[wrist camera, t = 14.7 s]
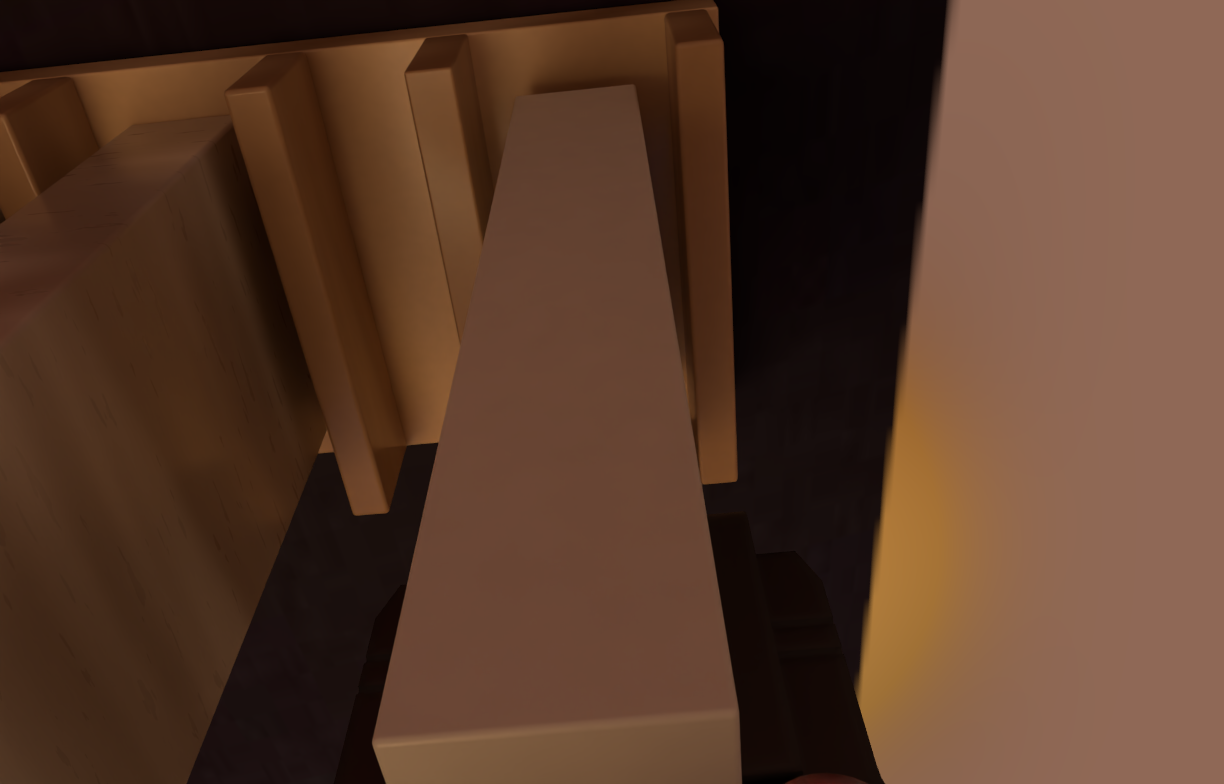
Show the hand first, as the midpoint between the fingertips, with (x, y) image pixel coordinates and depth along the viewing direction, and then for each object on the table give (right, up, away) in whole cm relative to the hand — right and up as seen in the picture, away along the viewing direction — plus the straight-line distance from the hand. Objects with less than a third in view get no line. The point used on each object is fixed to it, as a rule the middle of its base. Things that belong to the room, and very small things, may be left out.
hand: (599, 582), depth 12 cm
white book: (0, +5, +8) cm, 9 cm away
